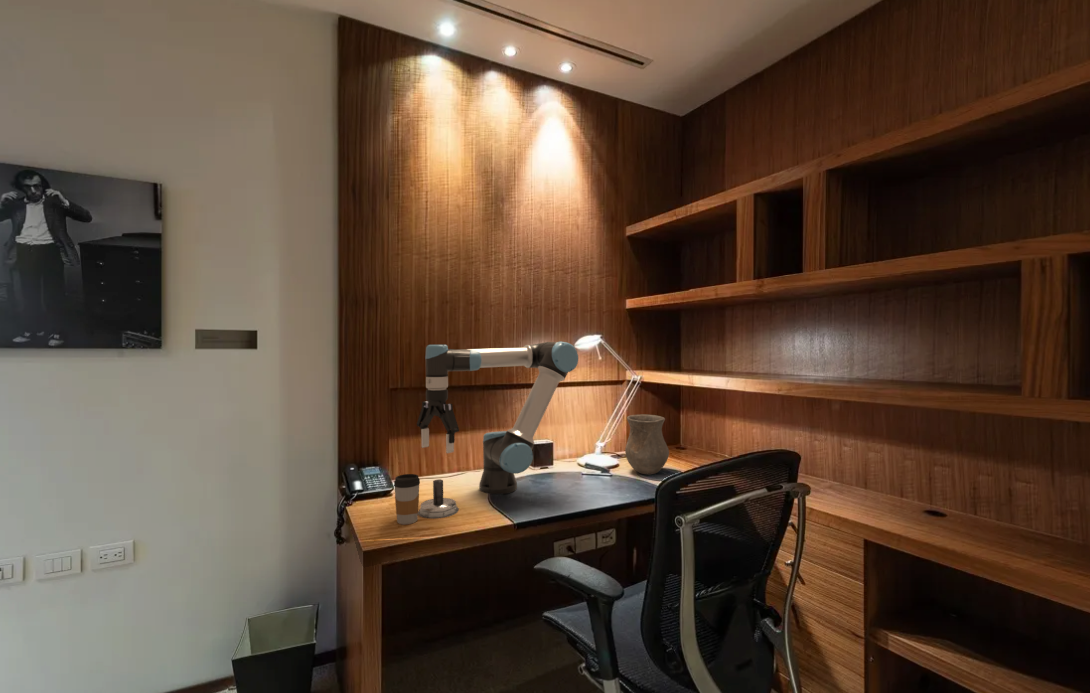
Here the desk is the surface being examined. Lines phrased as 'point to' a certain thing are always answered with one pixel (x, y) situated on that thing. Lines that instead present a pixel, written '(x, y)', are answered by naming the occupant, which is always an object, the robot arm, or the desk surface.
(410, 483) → the coffee cup
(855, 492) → the desk surface
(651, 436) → the vase
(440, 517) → the disc
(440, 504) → the lid
